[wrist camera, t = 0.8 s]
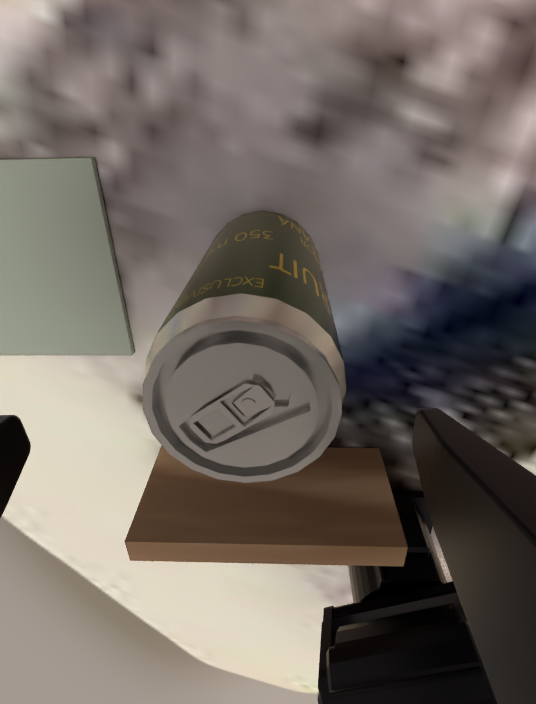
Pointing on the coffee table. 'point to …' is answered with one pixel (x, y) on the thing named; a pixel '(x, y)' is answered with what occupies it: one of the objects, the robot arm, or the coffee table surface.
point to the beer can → (248, 357)
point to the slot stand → (272, 515)
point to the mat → (58, 262)
